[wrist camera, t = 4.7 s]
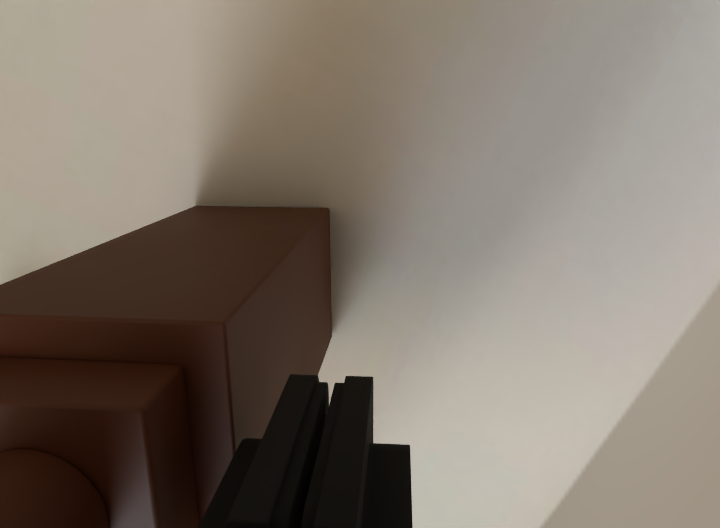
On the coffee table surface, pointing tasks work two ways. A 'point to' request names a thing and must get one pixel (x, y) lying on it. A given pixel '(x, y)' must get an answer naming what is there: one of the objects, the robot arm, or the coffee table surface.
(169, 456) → the bottle
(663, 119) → the coffee table surface
